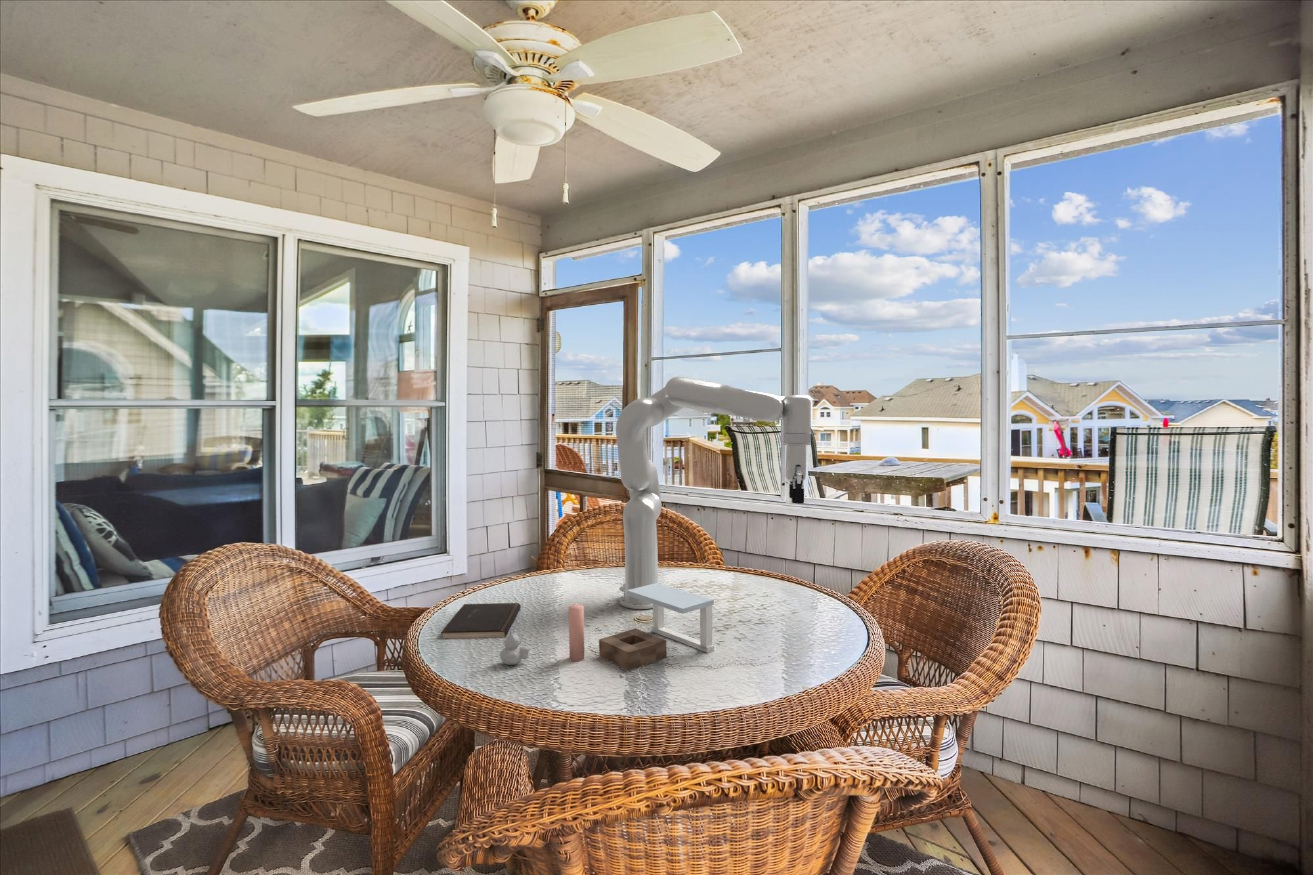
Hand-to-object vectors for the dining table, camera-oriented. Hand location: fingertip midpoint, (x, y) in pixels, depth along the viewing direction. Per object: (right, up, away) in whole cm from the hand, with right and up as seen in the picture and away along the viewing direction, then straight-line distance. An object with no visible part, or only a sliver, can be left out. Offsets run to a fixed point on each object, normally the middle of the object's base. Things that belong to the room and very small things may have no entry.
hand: (796, 500), depth 184 cm
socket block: (-45, -33, -32) cm, 64 cm away
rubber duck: (-71, -34, -36) cm, 86 cm away
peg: (-57, -33, -33) cm, 74 cm away
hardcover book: (-86, -33, -7) cm, 92 cm away
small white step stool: (-36, -32, -25) cm, 54 cm away
